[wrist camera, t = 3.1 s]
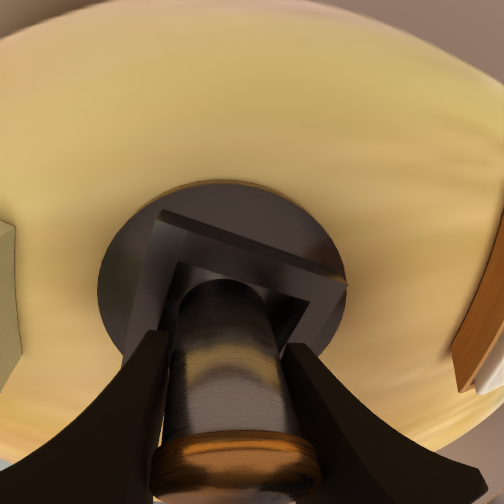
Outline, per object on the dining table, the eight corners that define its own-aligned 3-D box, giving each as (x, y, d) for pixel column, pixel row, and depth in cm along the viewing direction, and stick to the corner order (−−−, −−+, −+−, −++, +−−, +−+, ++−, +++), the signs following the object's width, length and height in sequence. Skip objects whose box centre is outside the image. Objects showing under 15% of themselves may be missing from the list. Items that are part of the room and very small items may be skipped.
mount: (376, 235, 12) (404, 257, 10) (277, 394, 15) (284, 425, 13) (138, 141, 9) (118, 145, 7) (95, 349, 12) (82, 381, 10)
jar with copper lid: (282, 280, 11) (352, 455, 4) (260, 356, 12) (292, 508, 6) (176, 267, 10) (139, 457, 4) (171, 348, 11) (155, 508, 5)
